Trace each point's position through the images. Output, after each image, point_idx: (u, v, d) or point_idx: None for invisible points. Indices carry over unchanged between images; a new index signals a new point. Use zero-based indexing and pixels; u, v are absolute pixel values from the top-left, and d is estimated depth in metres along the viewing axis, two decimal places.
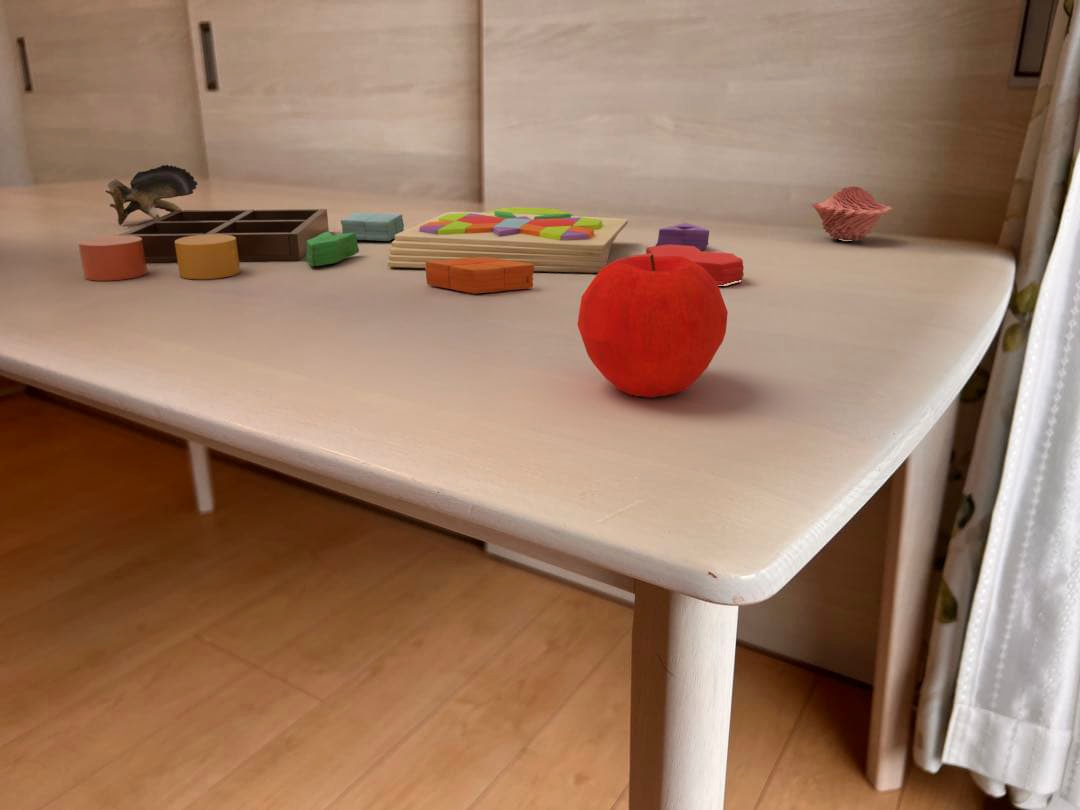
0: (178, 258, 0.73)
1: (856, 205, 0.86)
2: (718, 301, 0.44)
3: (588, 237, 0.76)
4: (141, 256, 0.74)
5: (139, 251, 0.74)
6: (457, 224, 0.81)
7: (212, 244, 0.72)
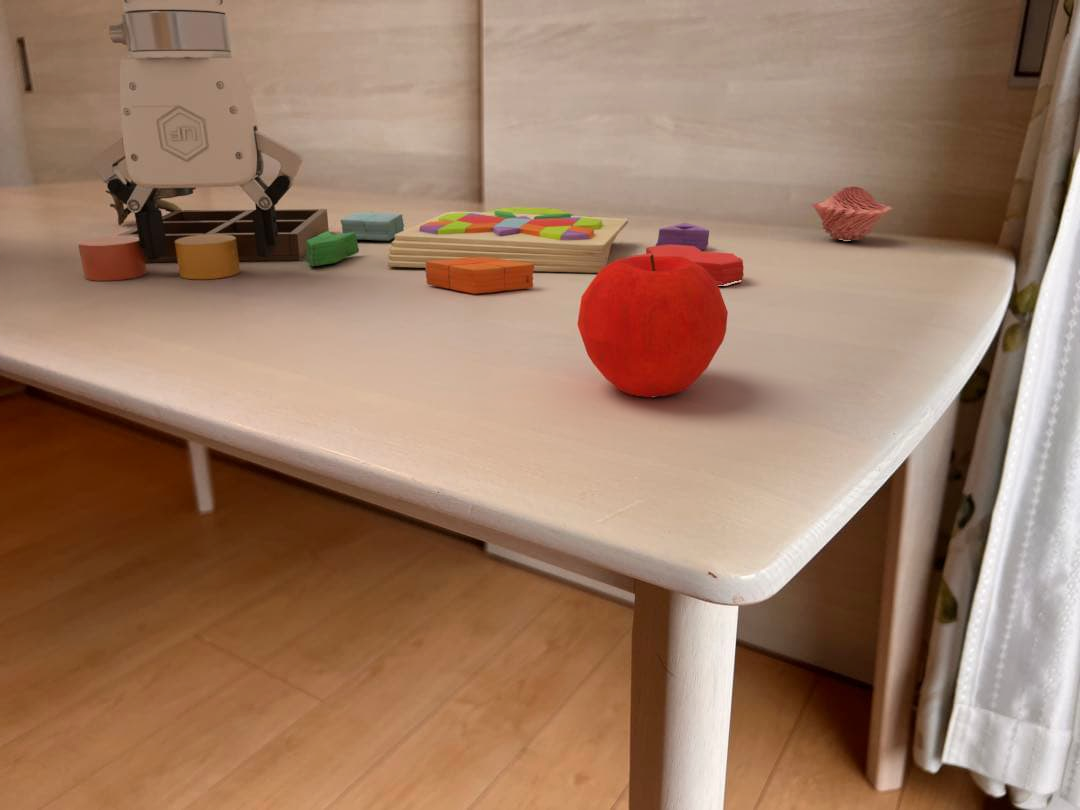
0: (178, 258, 0.73)
1: (856, 205, 0.86)
2: (718, 301, 0.44)
3: (588, 237, 0.76)
4: (141, 256, 0.74)
5: (139, 251, 0.74)
6: (457, 224, 0.81)
7: (212, 244, 0.72)
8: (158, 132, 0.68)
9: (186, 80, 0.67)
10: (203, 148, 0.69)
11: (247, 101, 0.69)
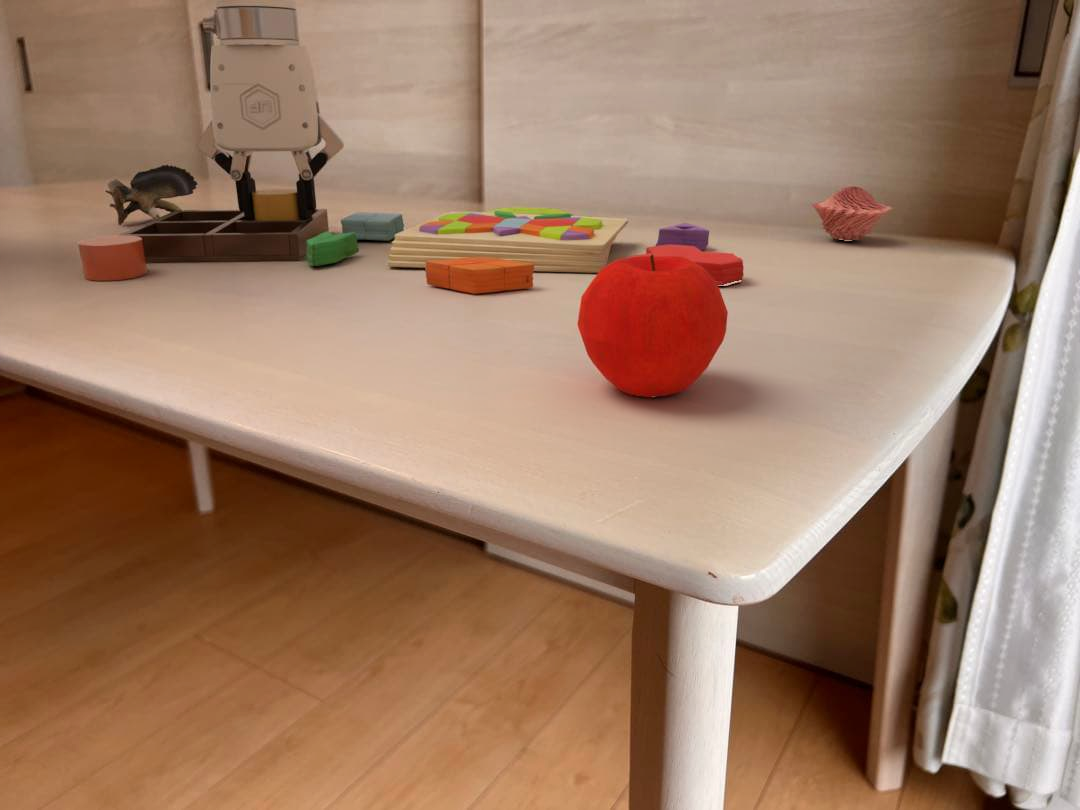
0: (254, 206, 0.89)
1: (856, 205, 0.86)
2: (718, 301, 0.44)
3: (588, 237, 0.76)
4: (141, 256, 0.74)
5: (139, 251, 0.74)
6: (457, 224, 0.81)
7: (283, 194, 0.88)
8: (240, 105, 0.84)
9: (265, 63, 0.83)
10: (276, 119, 0.85)
11: (312, 81, 0.85)
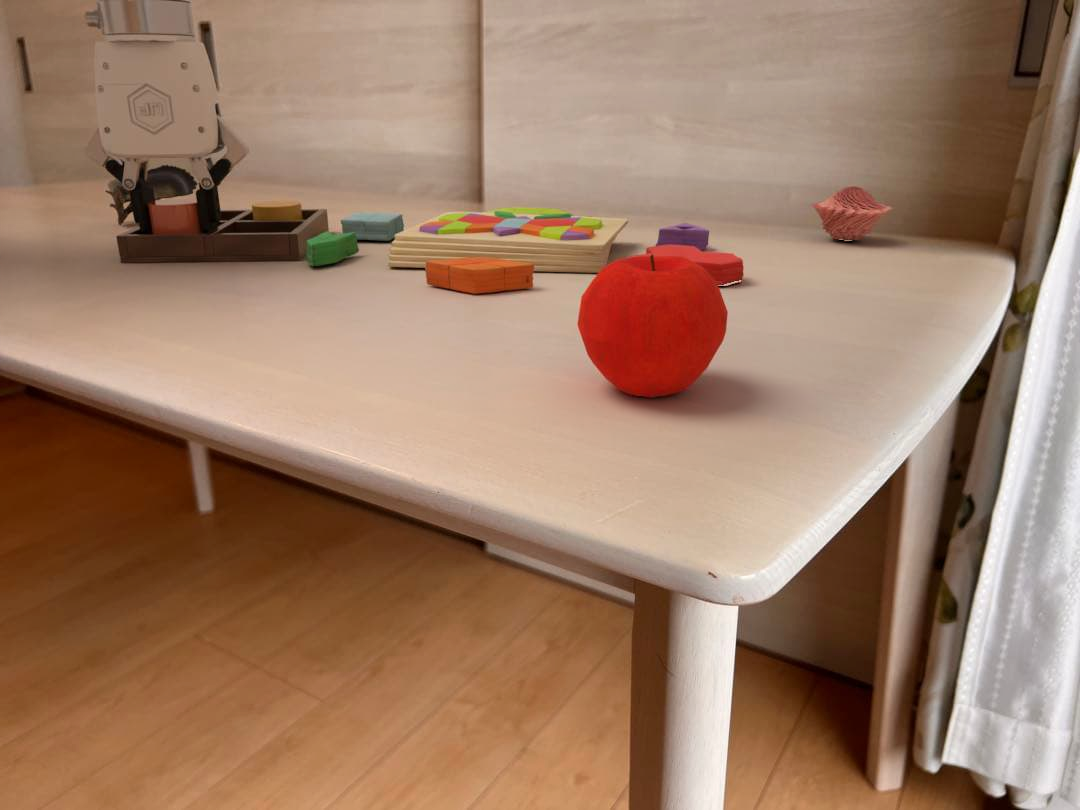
0: (255, 218, 0.89)
1: (856, 205, 0.86)
2: (718, 301, 0.44)
3: (588, 237, 0.76)
4: None
5: None
6: (457, 224, 0.81)
7: (283, 207, 0.88)
8: (128, 107, 0.76)
9: (154, 61, 0.75)
10: (169, 122, 0.77)
11: (209, 81, 0.77)
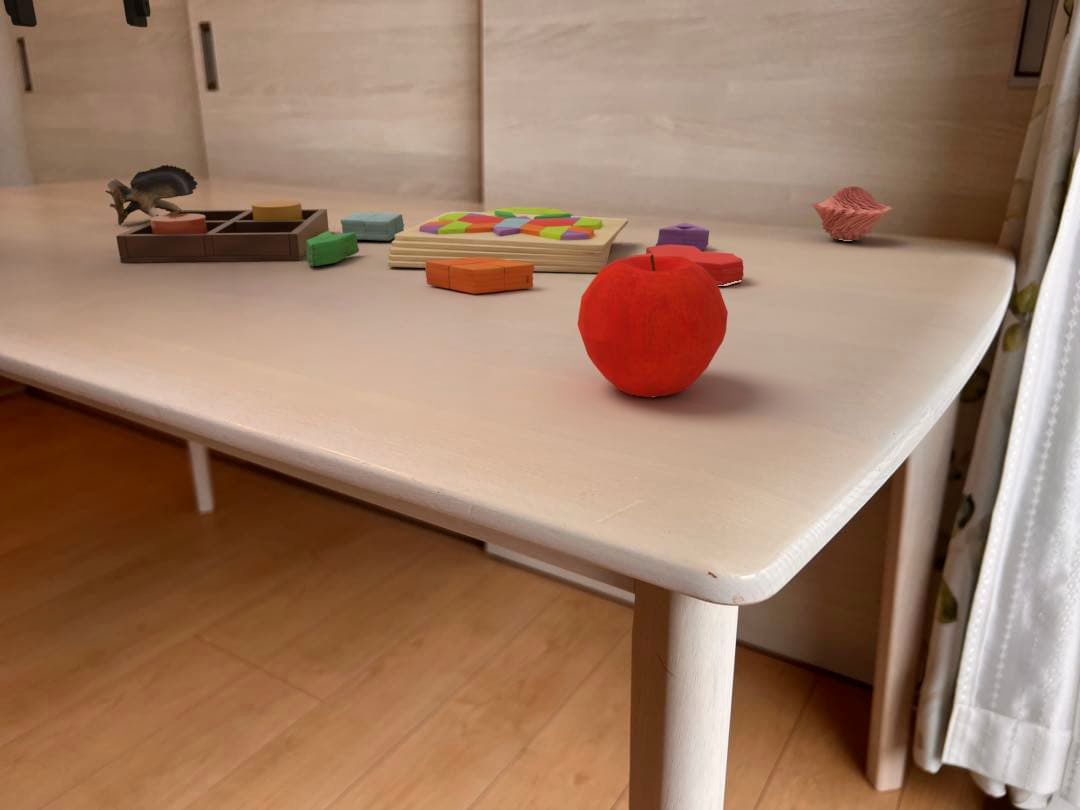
0: (255, 218, 0.89)
1: (856, 205, 0.86)
2: (718, 301, 0.44)
3: (588, 237, 0.76)
4: (205, 231, 0.83)
5: (203, 226, 0.82)
6: (457, 224, 0.81)
7: (283, 207, 0.88)
8: None
9: None
10: None
11: None
